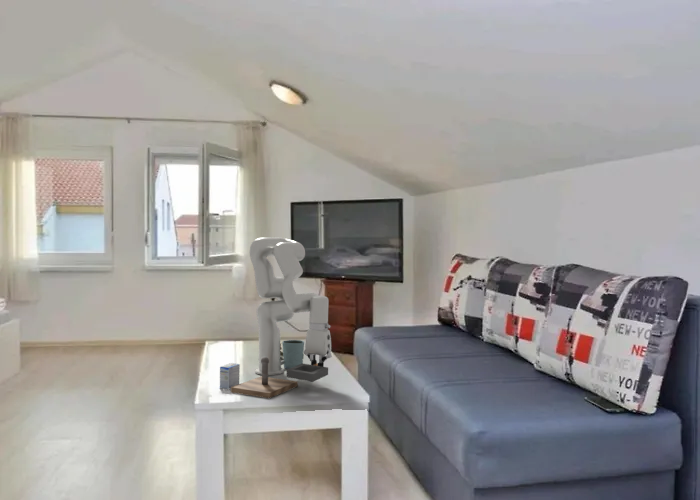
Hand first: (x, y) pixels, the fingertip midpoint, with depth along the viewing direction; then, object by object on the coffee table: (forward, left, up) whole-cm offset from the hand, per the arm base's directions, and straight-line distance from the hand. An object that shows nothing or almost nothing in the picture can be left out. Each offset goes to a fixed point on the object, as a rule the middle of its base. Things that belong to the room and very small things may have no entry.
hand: (317, 370), depth 240 cm
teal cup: (-23, -26, -6) cm, 35 cm away
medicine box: (+18, -30, -6) cm, 36 cm away
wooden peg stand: (+15, -15, -6) cm, 22 cm away
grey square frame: (+6, 0, -1) cm, 6 cm away
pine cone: (-40, -50, -6) cm, 64 cm away
